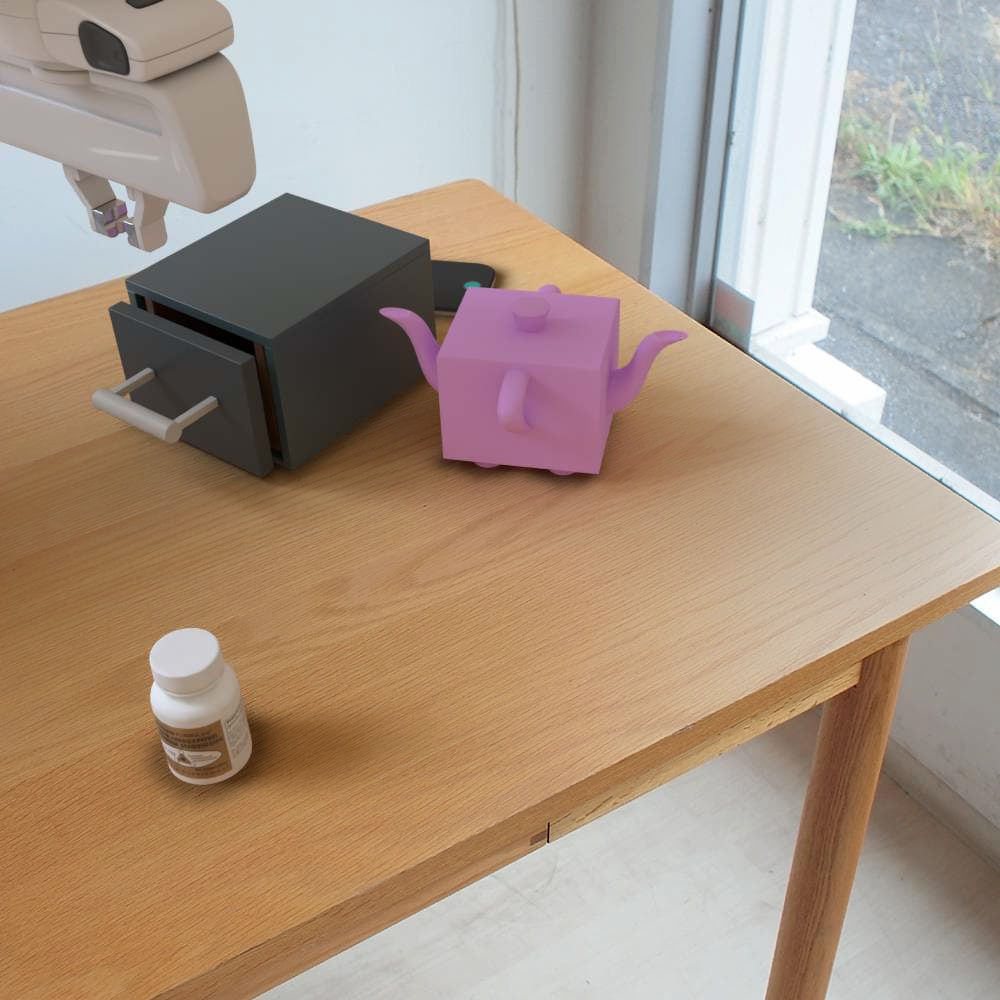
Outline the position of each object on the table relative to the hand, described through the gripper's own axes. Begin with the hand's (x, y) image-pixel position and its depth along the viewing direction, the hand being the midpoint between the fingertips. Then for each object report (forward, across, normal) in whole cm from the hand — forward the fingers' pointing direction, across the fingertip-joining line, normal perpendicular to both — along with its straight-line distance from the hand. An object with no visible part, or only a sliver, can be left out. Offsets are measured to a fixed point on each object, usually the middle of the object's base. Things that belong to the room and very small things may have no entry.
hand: (130, 238), depth 78 cm
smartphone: (+17, -3, +26) cm, 32 cm away
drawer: (+16, 0, +6) cm, 17 cm away
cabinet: (+17, 0, +11) cm, 21 cm away
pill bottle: (+17, +20, -17) cm, 31 cm away
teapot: (+17, +18, +15) cm, 29 cm away
